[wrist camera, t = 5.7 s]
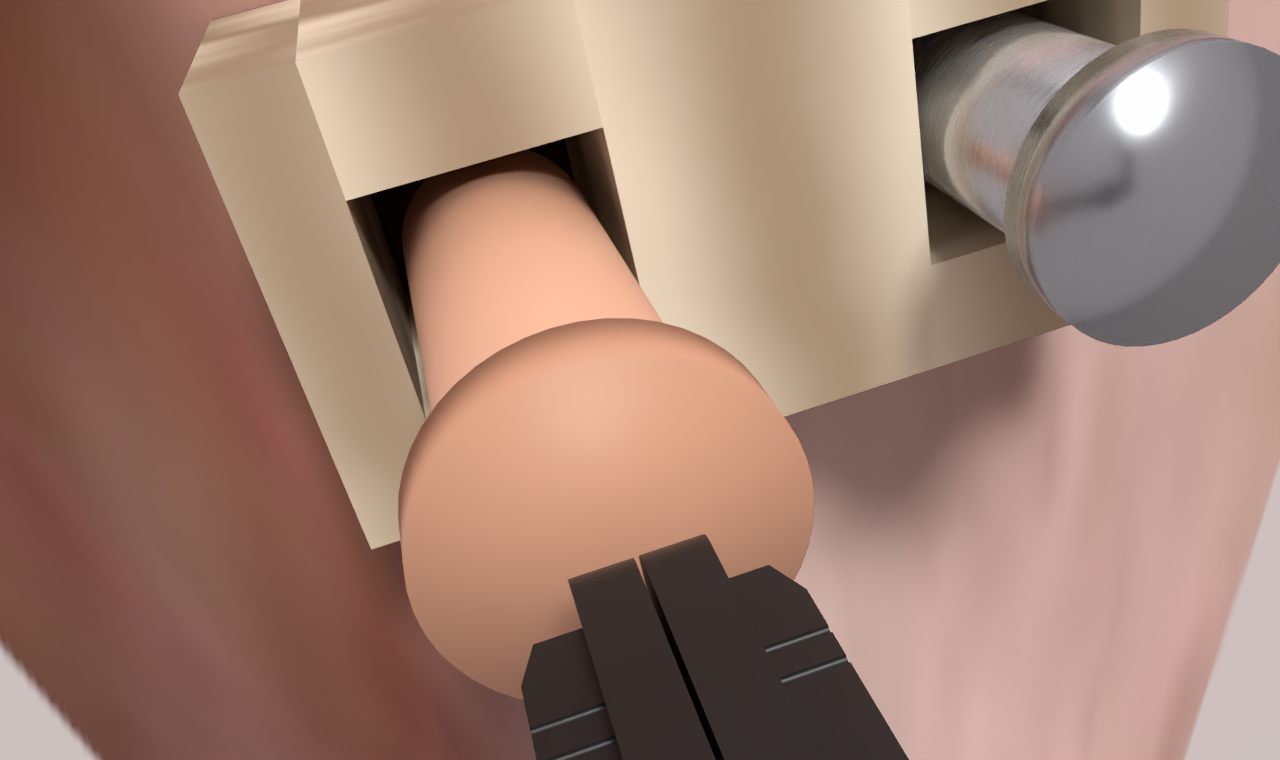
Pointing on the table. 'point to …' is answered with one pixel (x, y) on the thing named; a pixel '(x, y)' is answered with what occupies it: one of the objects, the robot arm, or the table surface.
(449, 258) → the terracotta plunger
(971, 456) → the table surface
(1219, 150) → the steel plunger
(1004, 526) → the table surface
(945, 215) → the beige rectangular block
